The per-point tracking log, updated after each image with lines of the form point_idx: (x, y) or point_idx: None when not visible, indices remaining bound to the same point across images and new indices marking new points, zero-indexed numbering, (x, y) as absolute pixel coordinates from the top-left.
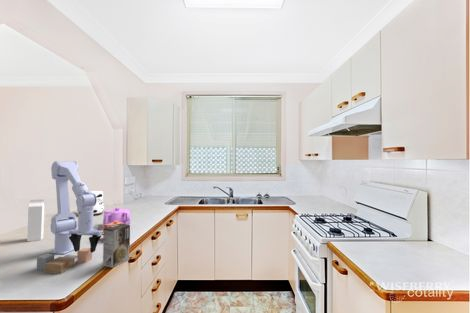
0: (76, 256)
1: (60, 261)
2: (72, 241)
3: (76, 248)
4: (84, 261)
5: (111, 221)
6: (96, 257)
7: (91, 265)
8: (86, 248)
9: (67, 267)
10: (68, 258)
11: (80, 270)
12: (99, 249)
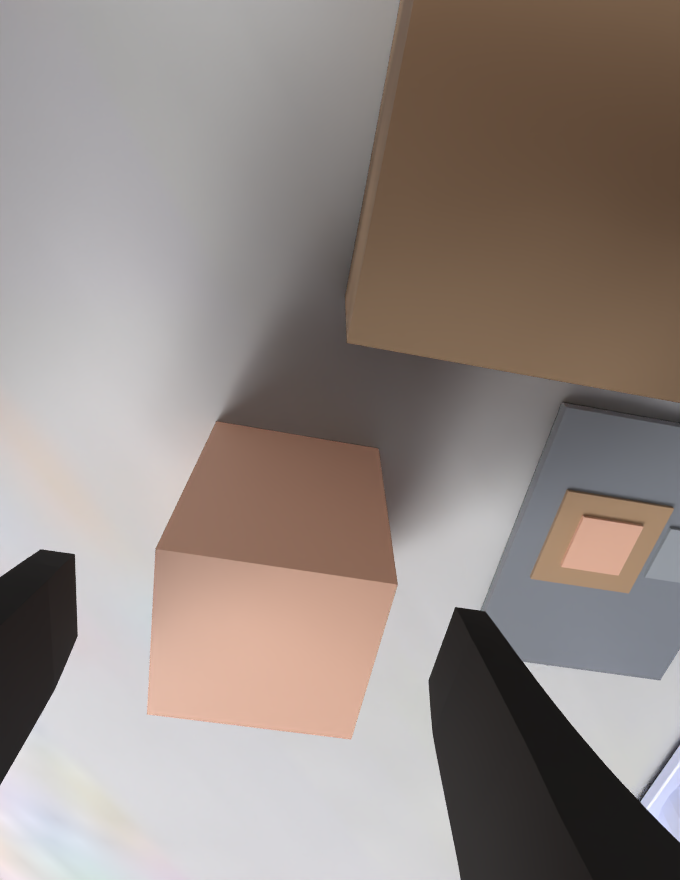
0: None
1: (610, 57)
2: (664, 877)
3: (468, 675)
4: (233, 434)
5: None
6: None
7: (30, 306)
8: (269, 706)
9: (385, 90)
10: (476, 290)
11: (81, 51)
12: (295, 816)
